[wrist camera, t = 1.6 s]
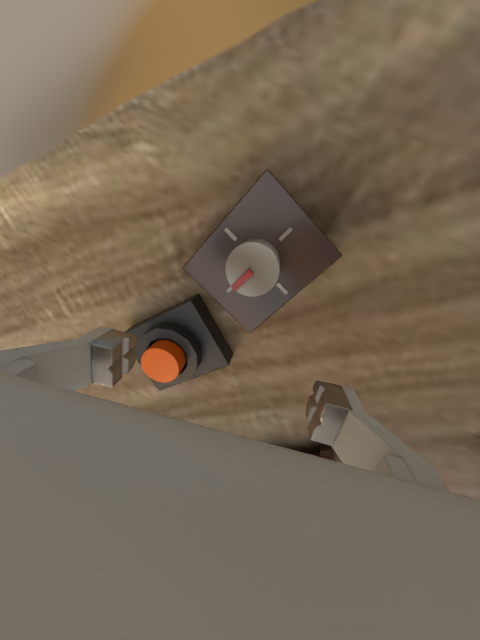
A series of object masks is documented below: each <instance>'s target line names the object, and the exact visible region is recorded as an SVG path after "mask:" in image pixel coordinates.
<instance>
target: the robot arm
mask: <svg viewBox="0 0 480 640" xmlns="http://www.w3.org/2000/svg"><path fill="white" fill-rule="evenodd" d="M136 344H137V337H136V336H135V335H134V334H130V333H126V332H123V331H119V330H115V329H112V328H107V327H100V328H98V329H96V330H94V331H92V332H90V333H88V334H86V335H85V336H83V337H81V338H79V339H77V340H66V341H60V342H53V343H47V344H41V345H34V346H28V347H21V348H15V349H9V350H2V351H0V640H480V500H478V499H474V498H470V497H467V496H463V495H459V494H456V493H452V492H449V490H448V489H447V487H446V486H445V484H444V483H443V481H442V480H441V478H440V477H439V475H438V474H437V472H436V471H435V469H434V468H433V466H432V465H431V464H430V463H429V462H427V461H426V460H425V459H424V458H423V457H421V456H420V455H419V454H418V453H416V452H415V451H414V450H413V449H411V448H410V447H409V446H408V445H407V444H405V443H404V442H403V441H402V440H400V439H399V438H398V437H397V436H395V435H394V434H393V433H392V432H390V431H389V430H388V429H387V428H386V427H384V426H383V425H382V424H381V423H379V422H378V421H377V420H376V419H374V418H373V417H372V416H370V415H367V414H366V412H365V410H364V408H363V406H362V404H361V402H360V400H359V398H358V396H357V394H356V392H355V390H354V389H353V388H349V387H345V386H340V385H336V384H331V383H327V382H322V381H316V382H315V384H314V386H313V392H314V394H313V395H311V396H310V397H309V399H308V402H307V407H306V416H307V419H308V421H309V422H310V424H309V426H308V428H309V434H310V439H311V440H312V441H316V442H319V443H322V444H326V445H329V446H332V448H333V450H334V451H335V452H336V454H337V455H338V456H339V458H340V459H341V461H342V462H343V463H340V462H336V461H333V460H329V459H325V458H321V457H318V456H314V455H310V454H306V453H303V452H299V451H295V450H292V449H288V448H284V447H280V446H277V445H273V444H269V443H265V442H262V441H258V440H254V439H250V438H247V437H243V436H239V435H235V434H232V433H228V432H224V431H220V430H217V429H213V428H209V427H205V426H202V425H198V424H194V423H191V422H187V421H183V420H179V419H176V418H172V417H168V416H164V415H161V414H157V413H153V412H149V411H146V410H142V409H138V408H134V407H131V406H127V405H123V404H120V403H116V402H112V401H108V400H105V399H101V398H97V397H93V396H90V395H86V394H82V393H78V392H75V391H76V390H79V389H81V388H84V387H86V386H88V385H91V384H92V383H94V384H99V385H103V386H107V387H111V388H112V387H113V386H114V385H115V384H116V383H117V382H118V381H119V380H120V379H122V374H125V373H128V372H129V371H130V370H131V369H132V367H133V365H134V364H135V361H136V351H135V349H134V347H135V345H136Z"/></svg>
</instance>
